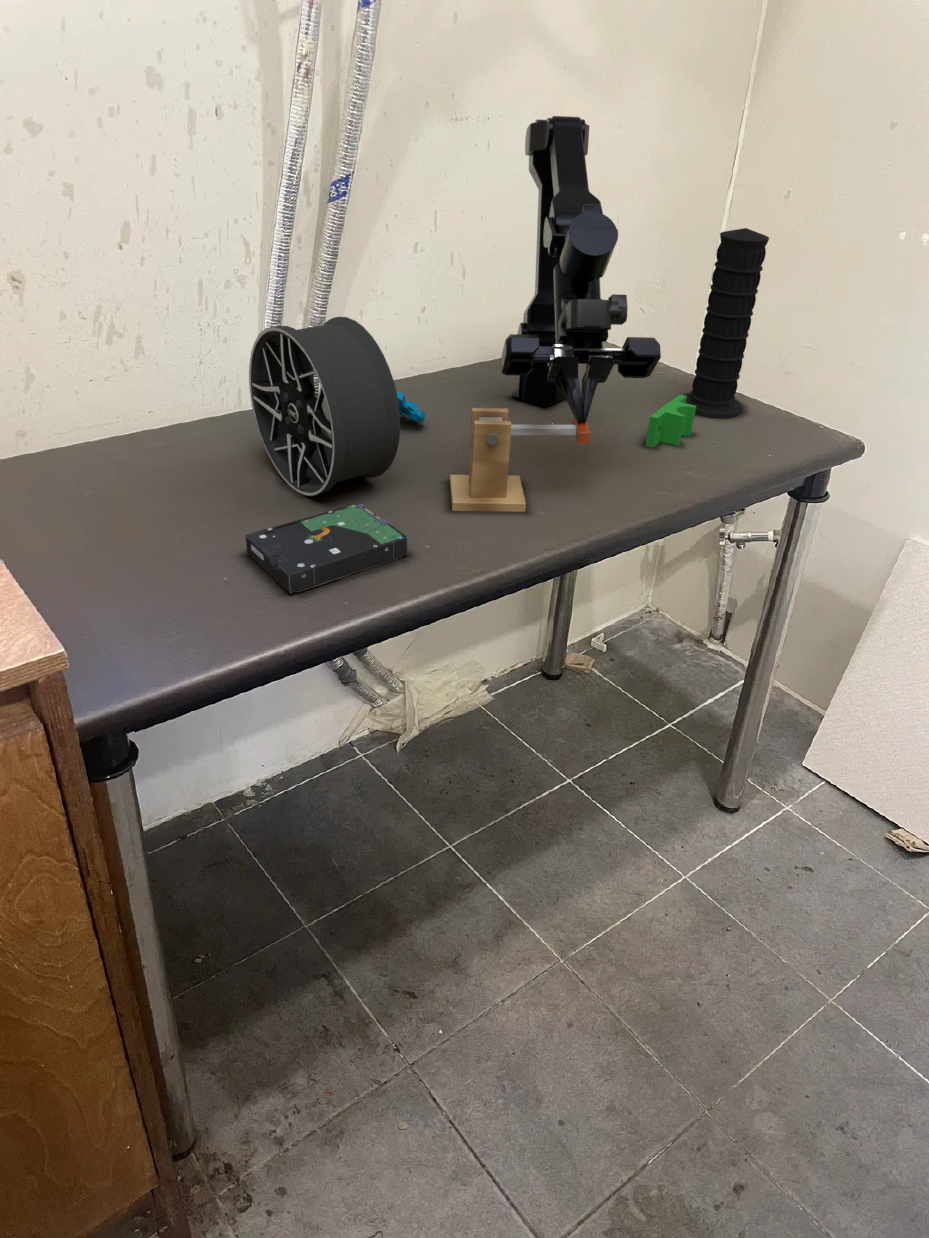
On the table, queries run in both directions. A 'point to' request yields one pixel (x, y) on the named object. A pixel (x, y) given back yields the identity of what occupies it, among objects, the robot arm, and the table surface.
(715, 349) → the handle grip
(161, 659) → the table surface
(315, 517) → the disk drive
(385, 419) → the wheel rim
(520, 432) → the lever
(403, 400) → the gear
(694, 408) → the pipe clamp
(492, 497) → the bracket
